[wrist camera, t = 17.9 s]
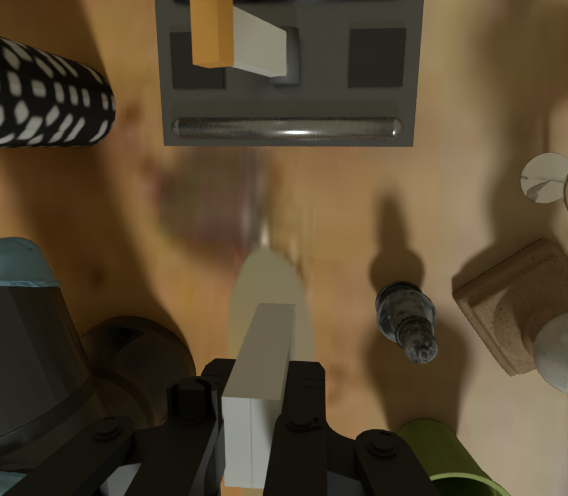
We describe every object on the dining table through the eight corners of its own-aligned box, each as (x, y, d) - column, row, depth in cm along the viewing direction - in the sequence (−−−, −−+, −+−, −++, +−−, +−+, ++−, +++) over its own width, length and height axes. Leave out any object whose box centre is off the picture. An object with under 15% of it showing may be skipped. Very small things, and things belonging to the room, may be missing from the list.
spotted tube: (46, 148, 45) (-159, 152, 26) (32, 65, 43) (-201, 2, 24) (120, 144, 45) (-34, 146, 25) (109, 60, 43) (-67, -10, 23)
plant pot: (434, 501, 52) (464, 597, 41) (355, 451, 51) (363, 535, 40) (499, 435, 49) (550, 519, 38) (416, 380, 48) (443, 450, 37)
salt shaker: (439, 298, 46) (479, 351, 34) (404, 339, 47) (431, 403, 35) (395, 268, 45) (420, 311, 34) (361, 309, 47) (375, 364, 35)
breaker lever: (278, 86, 36) (190, 64, 26) (278, 34, 35) (187, -7, 25) (303, 84, 35) (221, 61, 25) (304, 31, 34) (219, -14, 24)
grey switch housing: (184, 145, 44) (156, 145, 36) (177, -5, 41) (144, -39, 33) (400, 146, 42) (417, 146, 35) (410, -11, 39) (432, -48, 31)
